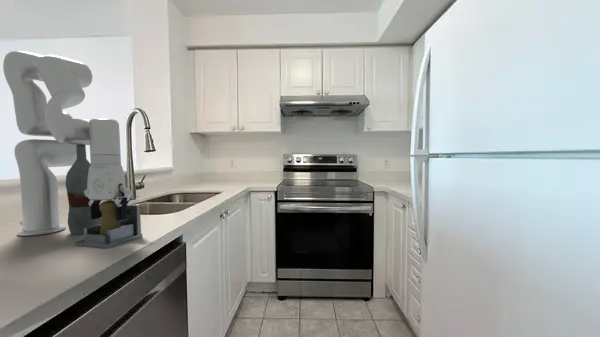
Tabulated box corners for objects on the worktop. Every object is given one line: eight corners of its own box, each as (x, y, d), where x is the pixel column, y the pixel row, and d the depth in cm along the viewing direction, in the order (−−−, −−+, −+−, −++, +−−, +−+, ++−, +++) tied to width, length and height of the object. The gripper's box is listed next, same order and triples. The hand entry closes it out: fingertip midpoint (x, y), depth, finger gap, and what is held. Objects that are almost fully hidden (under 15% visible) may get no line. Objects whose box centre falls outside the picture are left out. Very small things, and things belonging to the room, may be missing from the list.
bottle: (60, 235, 97) (55, 142, 96) (81, 228, 106) (77, 143, 105) (89, 235, 97) (84, 142, 95) (108, 228, 106) (103, 143, 105)
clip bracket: (74, 245, 85) (73, 210, 85) (112, 234, 97) (111, 203, 96) (107, 248, 82) (105, 211, 81) (142, 236, 93) (140, 204, 93)
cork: (112, 240, 85) (110, 202, 85) (94, 240, 86) (91, 202, 86) (128, 235, 91) (126, 199, 91) (110, 234, 92) (108, 199, 92)
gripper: (71, 162, 87) (74, 220, 88) (117, 161, 82) (120, 223, 83) (95, 161, 94) (98, 215, 95) (139, 160, 89) (142, 217, 90)
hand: (109, 219), depth 89 cm, fingers open, 9 cm apart
